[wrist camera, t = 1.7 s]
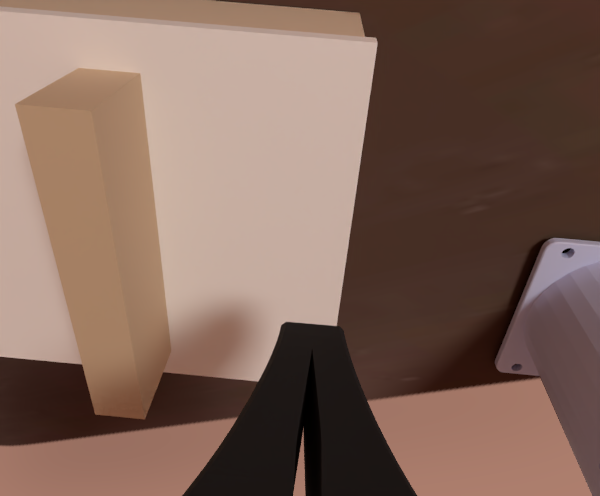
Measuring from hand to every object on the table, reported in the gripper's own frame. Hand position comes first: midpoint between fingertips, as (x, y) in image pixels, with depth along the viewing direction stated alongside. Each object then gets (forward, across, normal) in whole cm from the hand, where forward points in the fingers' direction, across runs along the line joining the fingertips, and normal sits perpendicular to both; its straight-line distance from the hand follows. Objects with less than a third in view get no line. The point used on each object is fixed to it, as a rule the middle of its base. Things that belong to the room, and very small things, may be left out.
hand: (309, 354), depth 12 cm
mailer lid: (+5, +7, 0) cm, 9 cm away
